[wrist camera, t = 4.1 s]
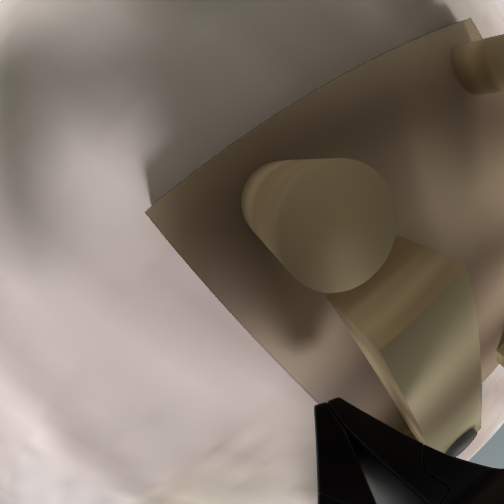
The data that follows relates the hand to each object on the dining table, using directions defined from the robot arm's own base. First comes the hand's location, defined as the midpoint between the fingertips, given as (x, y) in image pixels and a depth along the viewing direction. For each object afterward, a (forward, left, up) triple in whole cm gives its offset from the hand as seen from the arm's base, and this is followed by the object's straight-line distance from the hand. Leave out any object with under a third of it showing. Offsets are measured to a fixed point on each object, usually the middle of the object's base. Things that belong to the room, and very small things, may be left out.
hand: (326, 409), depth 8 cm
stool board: (-2, -8, -3) cm, 8 cm away
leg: (-3, -4, -2) cm, 5 cm away
